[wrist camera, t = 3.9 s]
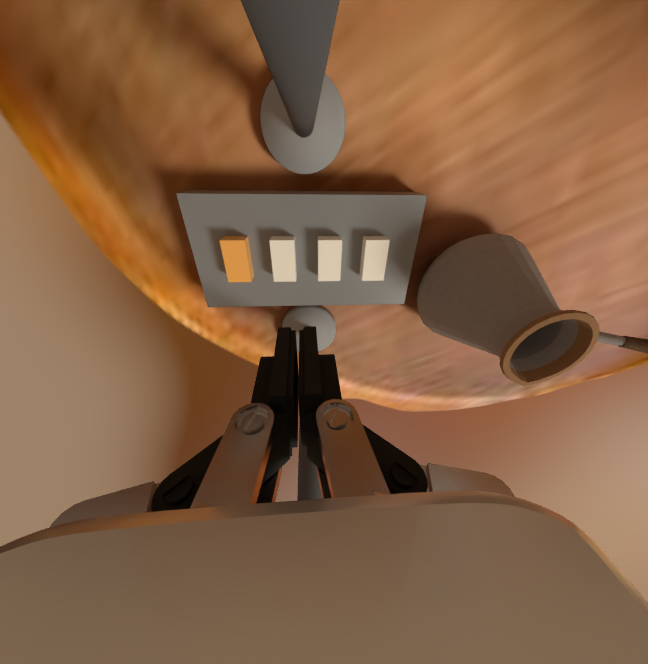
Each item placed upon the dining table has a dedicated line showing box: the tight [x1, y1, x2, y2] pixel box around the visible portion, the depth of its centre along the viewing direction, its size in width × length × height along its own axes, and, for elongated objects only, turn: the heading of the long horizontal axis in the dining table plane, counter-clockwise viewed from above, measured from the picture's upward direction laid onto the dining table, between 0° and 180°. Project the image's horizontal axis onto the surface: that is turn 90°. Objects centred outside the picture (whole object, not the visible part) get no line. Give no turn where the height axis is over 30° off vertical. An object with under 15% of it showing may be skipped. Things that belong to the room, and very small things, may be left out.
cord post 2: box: [282, 305, 336, 501], centre depth 22 cm, size 6×6×21 cm
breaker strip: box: [176, 190, 427, 307], centre depth 24 cm, size 20×10×4 cm, turn 89°
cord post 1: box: [241, 0, 345, 174], centre depth 11 cm, size 6×6×21 cm
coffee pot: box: [417, 233, 648, 386], centre depth 23 cm, size 21×12×15 cm, turn 87°
